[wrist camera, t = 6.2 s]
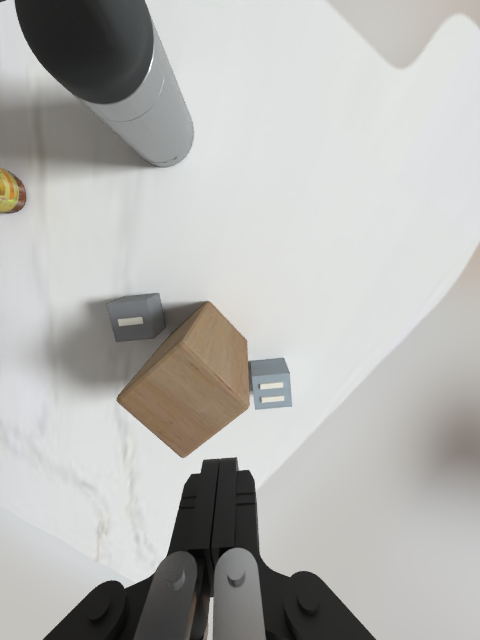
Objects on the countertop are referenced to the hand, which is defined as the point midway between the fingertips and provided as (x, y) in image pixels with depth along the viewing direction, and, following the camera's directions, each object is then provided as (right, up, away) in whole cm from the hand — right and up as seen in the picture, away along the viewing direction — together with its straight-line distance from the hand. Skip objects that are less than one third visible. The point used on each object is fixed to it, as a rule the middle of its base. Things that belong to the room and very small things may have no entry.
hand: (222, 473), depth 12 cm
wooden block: (-5, +4, +34) cm, 35 cm away
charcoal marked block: (-15, +8, +33) cm, 37 cm away
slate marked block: (+6, -3, +36) cm, 36 cm away
